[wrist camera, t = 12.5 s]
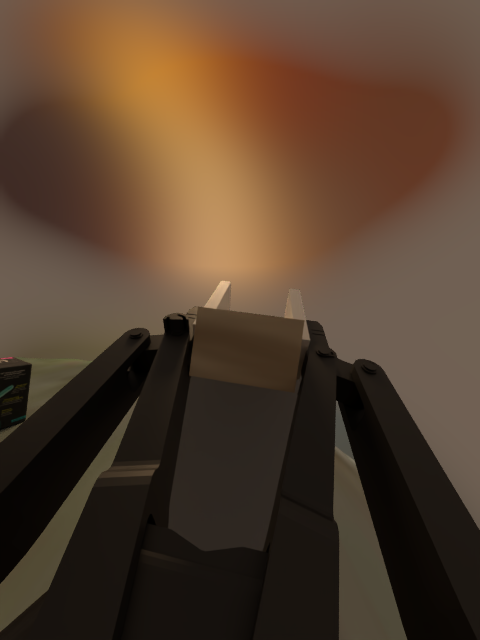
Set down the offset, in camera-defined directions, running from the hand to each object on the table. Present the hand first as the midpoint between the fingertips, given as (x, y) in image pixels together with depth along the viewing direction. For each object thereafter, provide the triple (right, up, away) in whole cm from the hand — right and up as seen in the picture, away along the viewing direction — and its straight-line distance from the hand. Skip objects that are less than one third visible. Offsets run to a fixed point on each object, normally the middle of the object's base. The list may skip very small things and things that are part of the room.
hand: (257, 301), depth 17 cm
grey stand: (-3, -34, +12) cm, 36 cm away
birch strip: (0, -4, +6) cm, 7 cm away
